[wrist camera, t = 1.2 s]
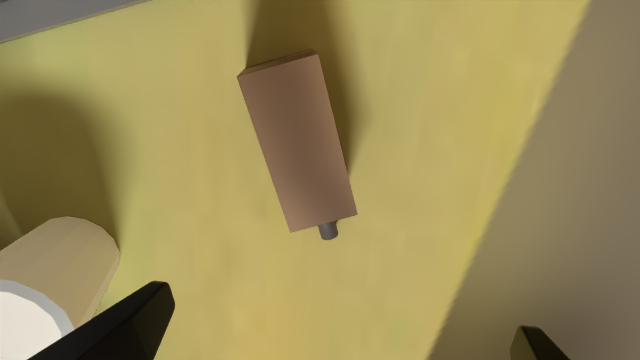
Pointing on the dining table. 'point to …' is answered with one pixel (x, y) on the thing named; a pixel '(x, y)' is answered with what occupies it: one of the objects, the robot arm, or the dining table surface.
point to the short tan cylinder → (52, 283)
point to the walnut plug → (299, 140)
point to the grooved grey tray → (50, 14)
